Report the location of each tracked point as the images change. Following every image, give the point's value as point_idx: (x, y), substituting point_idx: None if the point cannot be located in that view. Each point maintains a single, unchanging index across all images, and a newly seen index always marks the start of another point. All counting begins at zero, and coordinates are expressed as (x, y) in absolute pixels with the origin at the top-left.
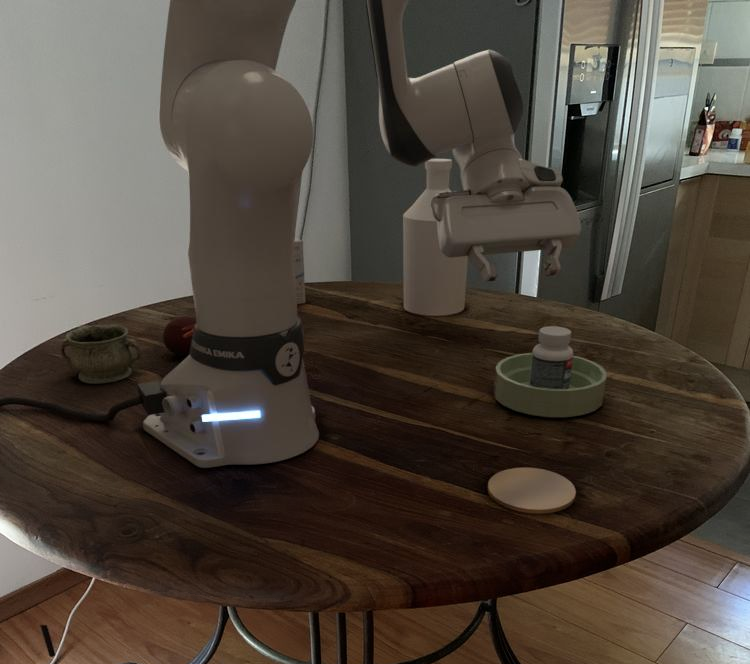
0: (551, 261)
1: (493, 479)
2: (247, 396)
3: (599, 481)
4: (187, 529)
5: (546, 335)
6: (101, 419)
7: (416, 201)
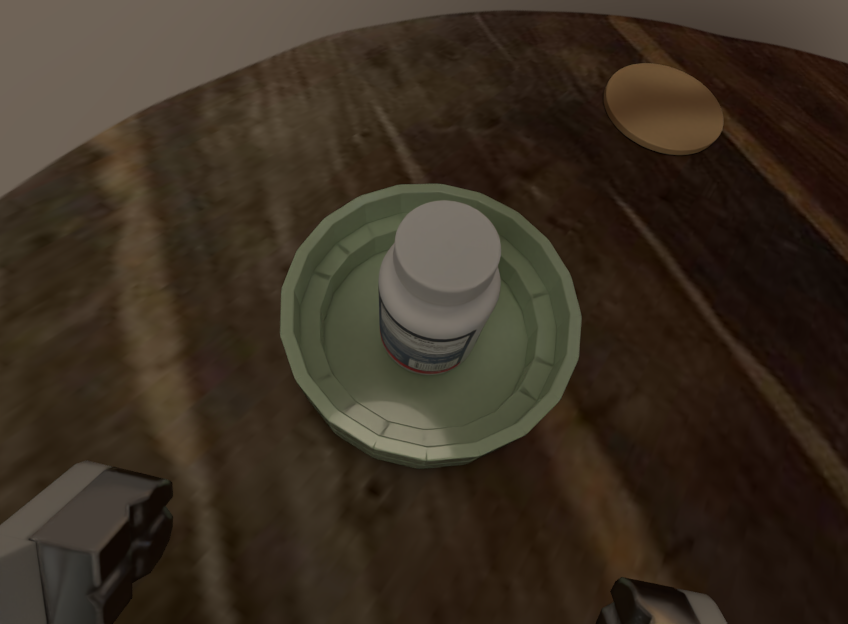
0: (100, 521)
1: (706, 140)
2: None
3: (558, 86)
4: None
5: (497, 234)
6: None
7: None
